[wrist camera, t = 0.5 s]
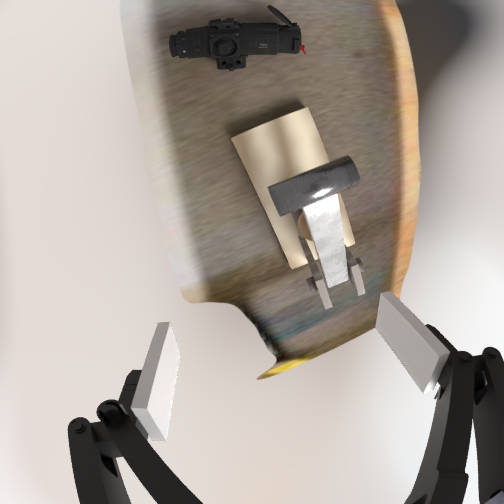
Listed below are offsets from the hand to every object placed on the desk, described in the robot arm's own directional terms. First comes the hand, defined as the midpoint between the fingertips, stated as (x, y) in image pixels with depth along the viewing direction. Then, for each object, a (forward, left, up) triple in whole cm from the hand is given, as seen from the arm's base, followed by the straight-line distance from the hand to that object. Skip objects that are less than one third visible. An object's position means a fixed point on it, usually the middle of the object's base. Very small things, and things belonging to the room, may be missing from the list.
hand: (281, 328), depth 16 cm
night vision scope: (-7, -22, -31) cm, 38 cm away
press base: (-6, +3, -30) cm, 31 cm away
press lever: (-6, +3, -15) cm, 16 cm away
